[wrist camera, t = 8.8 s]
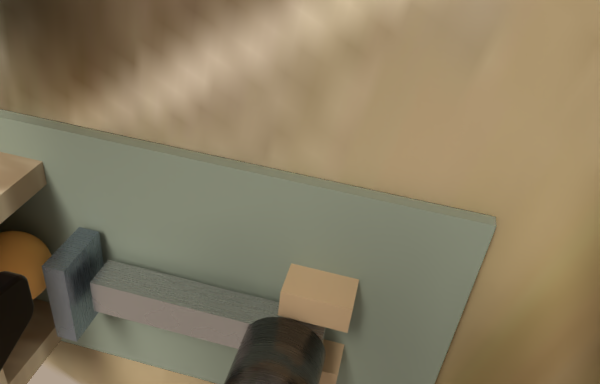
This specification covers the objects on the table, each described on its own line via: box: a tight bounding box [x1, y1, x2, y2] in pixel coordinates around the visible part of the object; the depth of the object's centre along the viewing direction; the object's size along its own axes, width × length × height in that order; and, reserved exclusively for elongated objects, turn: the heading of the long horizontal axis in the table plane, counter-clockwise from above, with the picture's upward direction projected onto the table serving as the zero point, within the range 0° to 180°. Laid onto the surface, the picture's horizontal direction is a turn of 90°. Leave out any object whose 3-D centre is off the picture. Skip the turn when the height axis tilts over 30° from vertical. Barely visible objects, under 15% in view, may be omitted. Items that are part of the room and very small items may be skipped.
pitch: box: [0, 109, 496, 384], centre depth 25 cm, size 23×14×2 cm, turn 84°
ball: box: [0, 231, 52, 299], centre depth 26 cm, size 4×4×4 cm
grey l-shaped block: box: [42, 227, 326, 384], centre depth 23 cm, size 12×4×6 cm, turn 84°
